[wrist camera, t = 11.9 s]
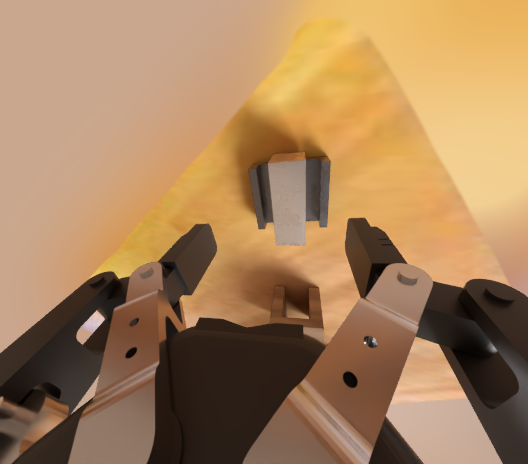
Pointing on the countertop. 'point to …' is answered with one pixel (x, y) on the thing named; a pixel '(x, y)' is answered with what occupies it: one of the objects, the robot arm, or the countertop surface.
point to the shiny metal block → (288, 197)
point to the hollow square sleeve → (310, 325)
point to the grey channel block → (314, 191)
